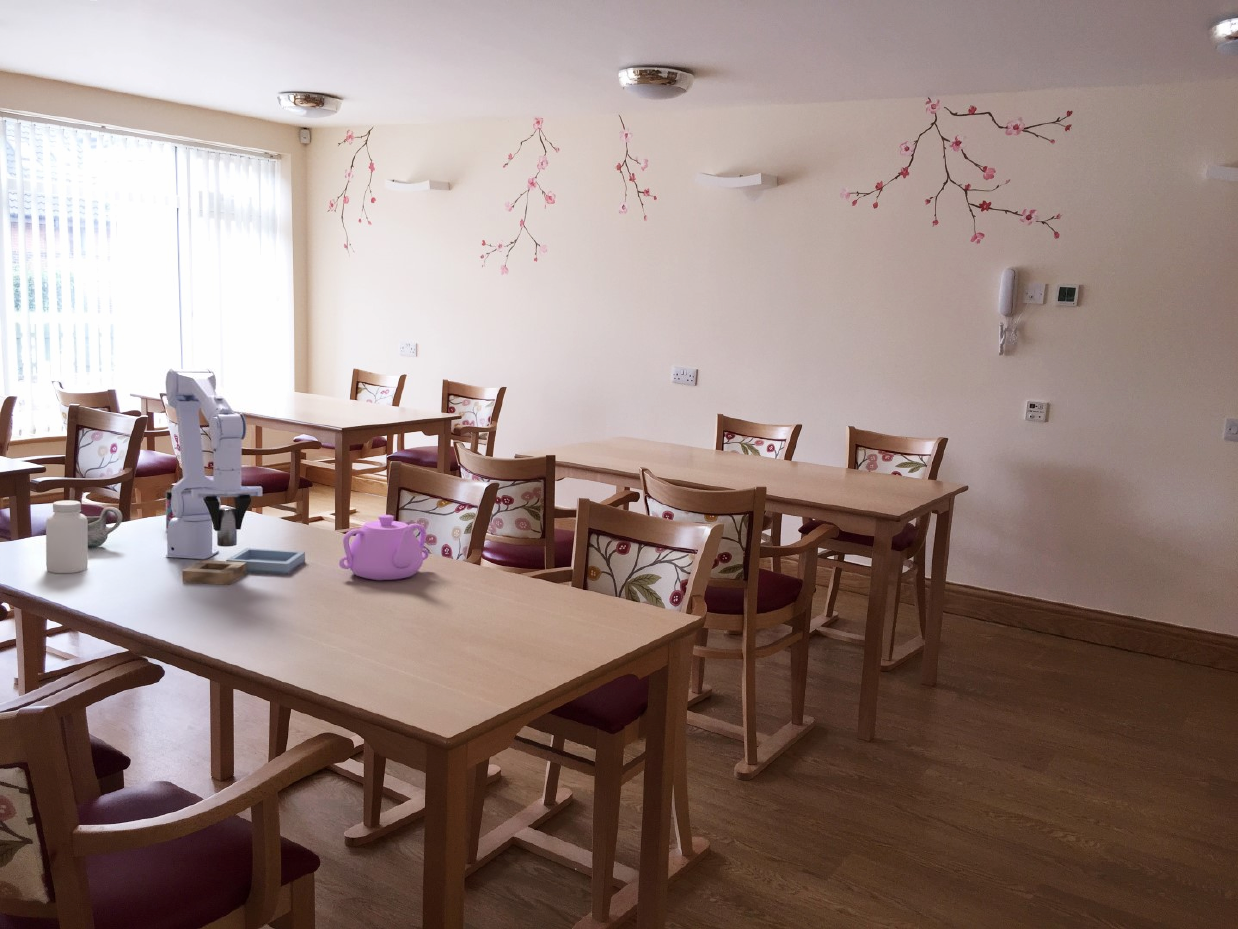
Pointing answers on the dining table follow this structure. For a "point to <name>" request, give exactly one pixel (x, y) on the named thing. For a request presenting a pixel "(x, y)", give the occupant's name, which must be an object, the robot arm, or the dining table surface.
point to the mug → (101, 527)
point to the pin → (227, 527)
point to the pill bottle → (66, 538)
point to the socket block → (214, 572)
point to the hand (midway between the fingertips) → (227, 529)
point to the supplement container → (169, 506)
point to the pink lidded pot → (384, 549)
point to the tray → (269, 560)
